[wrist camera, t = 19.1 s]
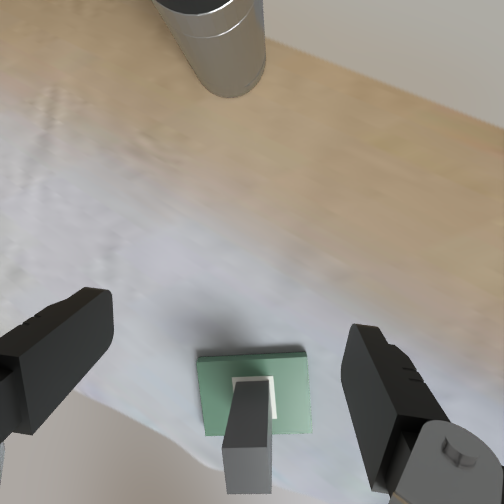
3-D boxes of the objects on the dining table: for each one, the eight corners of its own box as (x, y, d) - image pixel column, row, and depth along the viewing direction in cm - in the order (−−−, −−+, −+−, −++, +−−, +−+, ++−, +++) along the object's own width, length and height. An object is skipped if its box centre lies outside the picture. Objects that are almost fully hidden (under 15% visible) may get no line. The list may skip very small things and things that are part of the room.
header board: (207, 428, 47) (199, 458, 41) (198, 357, 45) (188, 378, 39) (311, 425, 45) (316, 455, 40) (306, 351, 43) (310, 372, 38)
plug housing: (239, 416, 44) (227, 494, 32) (236, 381, 43) (221, 448, 31) (272, 415, 44) (271, 493, 32) (269, 380, 43) (267, 447, 31)
